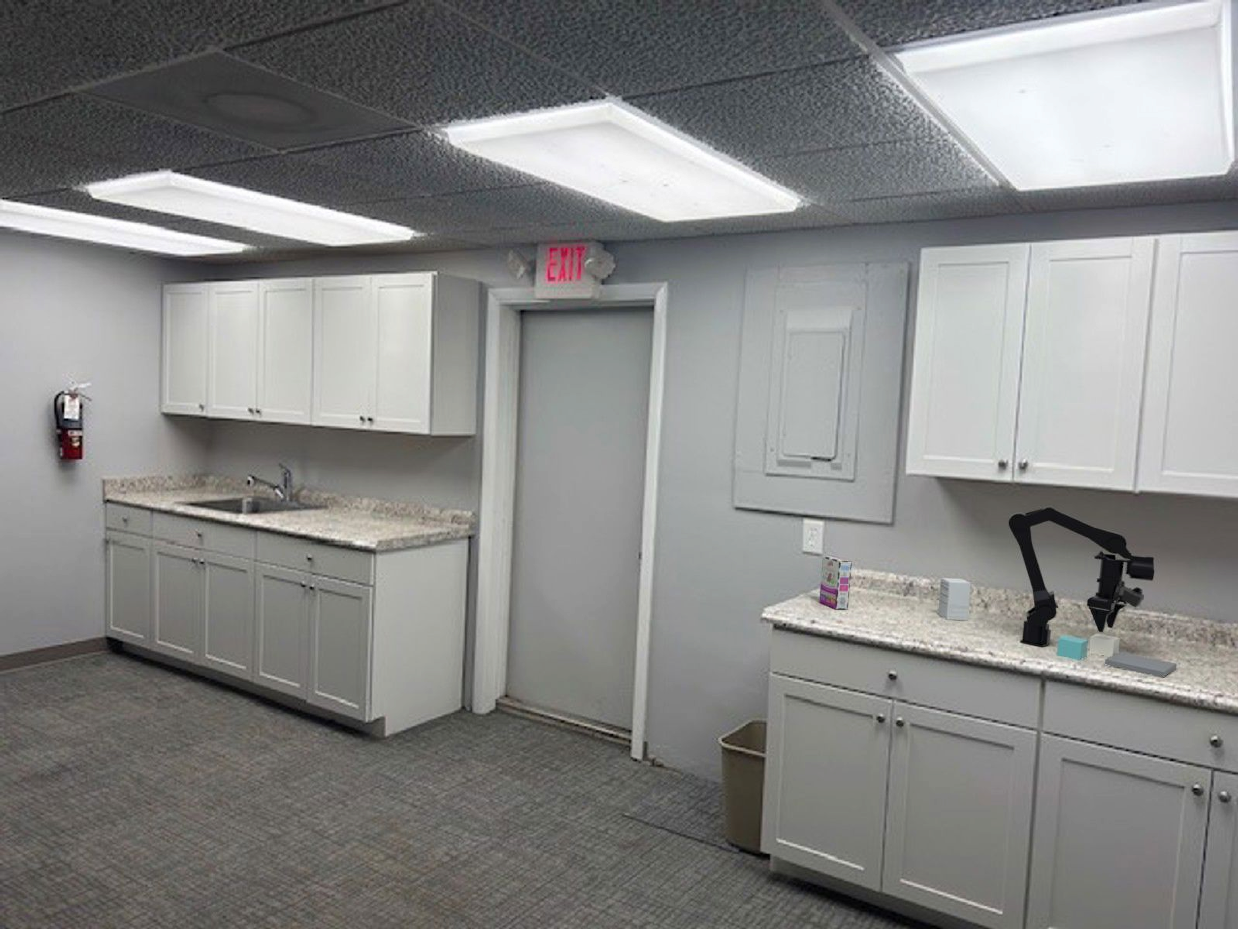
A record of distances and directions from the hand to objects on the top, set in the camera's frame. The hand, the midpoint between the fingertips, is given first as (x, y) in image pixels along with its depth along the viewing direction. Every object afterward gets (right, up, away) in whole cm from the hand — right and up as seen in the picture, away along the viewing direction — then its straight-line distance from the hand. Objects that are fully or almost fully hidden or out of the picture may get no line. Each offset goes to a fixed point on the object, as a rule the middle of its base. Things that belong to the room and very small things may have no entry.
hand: (1105, 629), depth 253 cm
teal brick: (-12, -7, -5) cm, 15 cm away
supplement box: (-30, -3, +37) cm, 48 cm away
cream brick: (0, -7, 0) cm, 7 cm away
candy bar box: (-67, -1, +44) cm, 81 cm away
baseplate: (+3, -8, -12) cm, 15 cm away
